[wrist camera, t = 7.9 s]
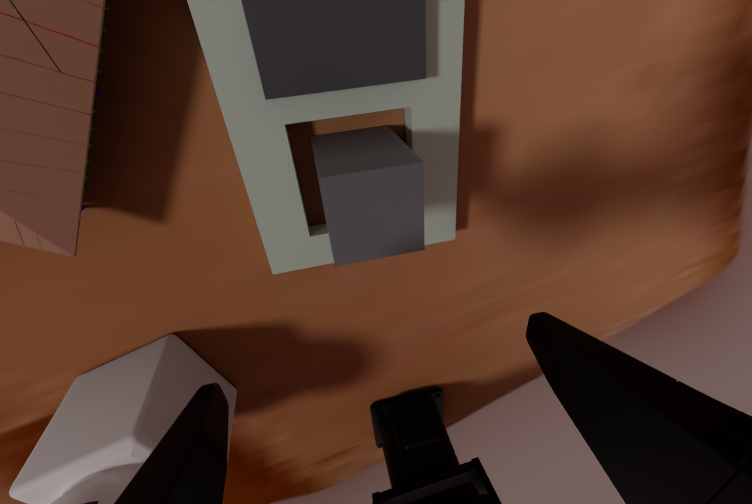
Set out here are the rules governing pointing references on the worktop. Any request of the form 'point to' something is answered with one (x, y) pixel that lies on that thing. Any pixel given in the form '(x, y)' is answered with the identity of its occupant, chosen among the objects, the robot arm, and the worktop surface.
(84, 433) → the medicine bottle
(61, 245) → the house
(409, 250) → the block
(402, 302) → the worktop surface
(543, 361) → the robot arm
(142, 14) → the worktop surface
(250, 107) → the plate
